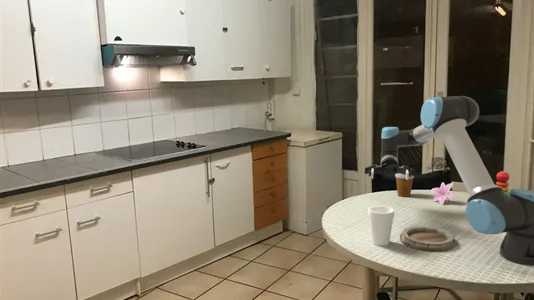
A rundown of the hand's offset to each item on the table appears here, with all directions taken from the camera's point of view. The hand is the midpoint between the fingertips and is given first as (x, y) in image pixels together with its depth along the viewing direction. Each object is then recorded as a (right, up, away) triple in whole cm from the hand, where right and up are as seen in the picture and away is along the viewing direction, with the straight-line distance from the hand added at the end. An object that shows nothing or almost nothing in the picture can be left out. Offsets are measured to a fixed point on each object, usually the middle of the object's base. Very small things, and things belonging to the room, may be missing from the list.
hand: (389, 176), depth 173 cm
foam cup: (-6, -25, -8) cm, 27 cm away
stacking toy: (+57, -18, +24) cm, 64 cm away
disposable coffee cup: (+23, -14, +54) cm, 60 cm away
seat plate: (+12, -24, -8) cm, 28 cm away
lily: (+38, -16, +41) cm, 58 cm away
